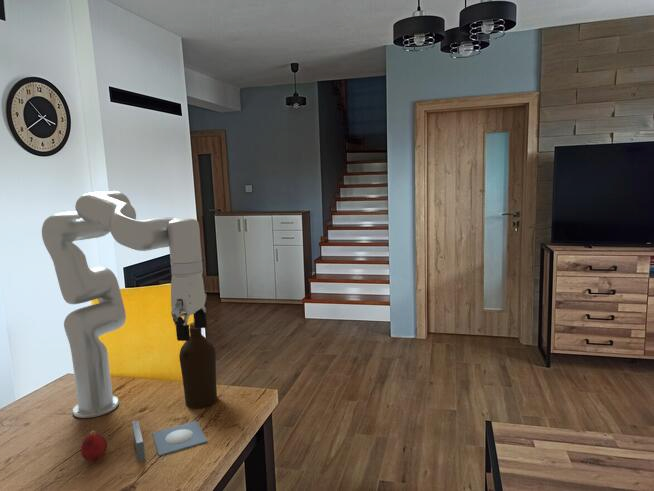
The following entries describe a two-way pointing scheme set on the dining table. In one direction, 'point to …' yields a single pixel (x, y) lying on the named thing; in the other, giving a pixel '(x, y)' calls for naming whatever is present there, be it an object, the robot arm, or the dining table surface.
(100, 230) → the robot arm
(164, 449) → the mat
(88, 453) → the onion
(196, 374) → the olive oil
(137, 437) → the low wall
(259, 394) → the dining table surface
